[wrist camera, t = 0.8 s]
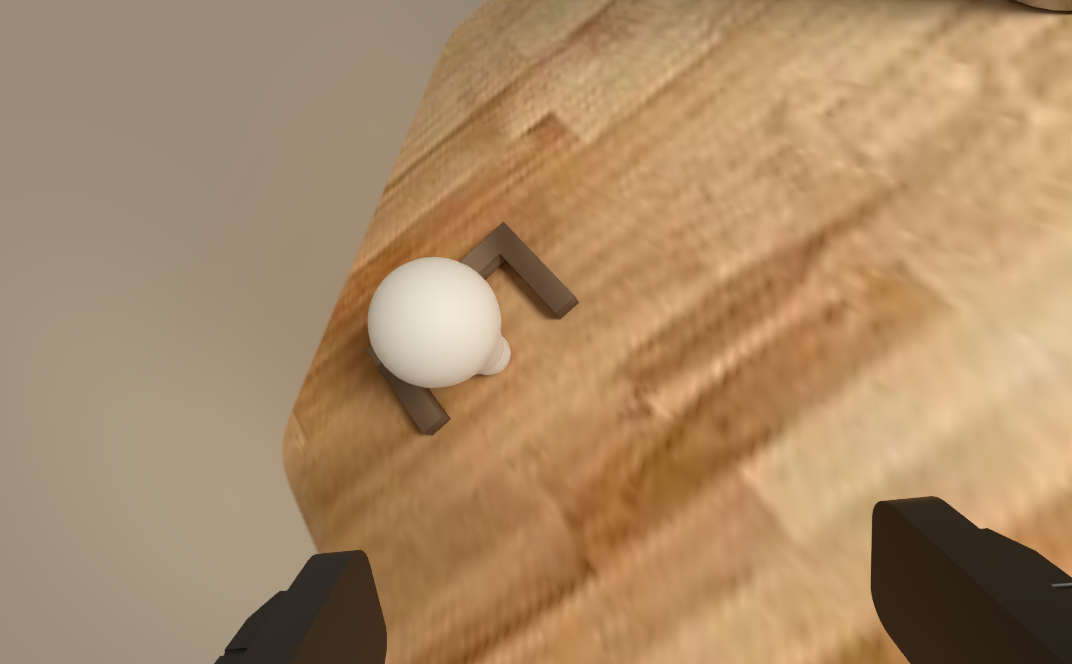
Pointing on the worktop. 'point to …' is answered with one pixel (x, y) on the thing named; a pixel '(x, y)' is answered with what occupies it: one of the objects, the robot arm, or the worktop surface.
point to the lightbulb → (437, 324)
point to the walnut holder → (484, 262)
